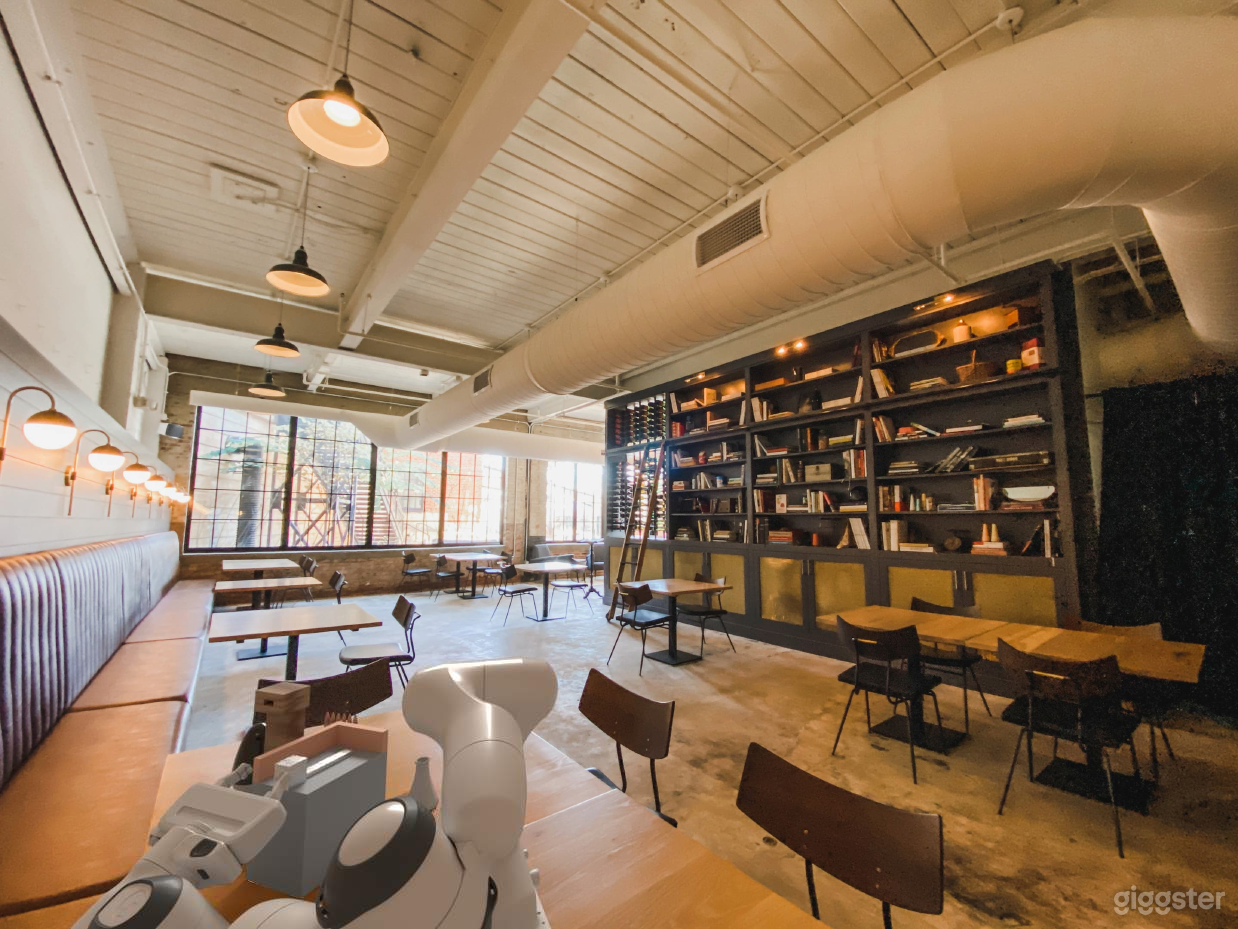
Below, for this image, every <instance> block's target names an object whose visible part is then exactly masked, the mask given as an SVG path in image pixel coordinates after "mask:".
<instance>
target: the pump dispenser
mask: <svg viewBox="0 0 1238 929" xmlns="http://www.w3.org/2000/svg"><path fill="white" fill-rule="evenodd" d="M265 731H266V721H262V722H258V723H255V724H254V725H252V726H251V727H250V728H248V730H247V731H246V733H245V735H244V736H243V738H242V740H241V742H240V743H239V746H238V748H237V752H236V755H235V758H234V760H233V763H232V764H233V765H232V768H231V772H233V771H235V770H236V769H237V768H238V767H239V766H240V765H241V764H242V763H245V764H250V765H251V767H252V768H253V765H254V758H255V757H257V756H260V755H262V754H264V745H265ZM252 779H253V771H252V772H251V773H250V774H249V775H248V777H247V778H246V779H245V780H244V779H241V780H239V781H238V782H236V783H235V784H234V785H232V786H231V787H232V789H234V790H238V791H242V792H246V793H250V794H251V793H252Z"/></svg>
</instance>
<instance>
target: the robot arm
mask: <svg viewBox="0 0 1238 929" xmlns="http://www.w3.org/2000/svg"><path fill="white" fill-rule="evenodd" d="M558 683H559V682H558V678H557V675H556V671H555V670H554V668H553V667H552V665H551V664H550V663H549V662H548V661H547V660H546V659H541V658H535V657H527V656H515V657H514V656H513V657H497V658H485V659H478V660H476V659H475V660H465V661H452V662H443V663H441V664H436V665H432V666H429V667H424V668H422V669H418V670H416V671H415V673H414V674H413V675H412V676H411V677H410V678H409V680H408V682H407V683H406V686H405V687H404V691H403V694H402V699H401V710H402V716H403V719H404V720H405V723H406V724H407V725H408V727H409V728H410V729H411V730H412V731H413V732H415V733H418V734H420V735H421V734H422V735H424V736H426V737H428V738H430V739H431V740H433V741H434V742H435V743H437V744H438V746H439V747H440V748H441V750H442V761H443V763H442V764H443V766H442V778H441V779H442V780H441V794H440V795H441V798H440V800H441V807H440V808H439V812H438V815H437V817H436V818H435V815H434V814H433V813H432V812H431V810H430V811H429V810H428V809H427V808H426V807H425V806H424V805H422V804H421V803H420V802H419V801H417V800H416V799H414V798H412V797H410V796H408V795H398V796H395V797H394V796H393V797H392V798H388V799H385V801H382V802H380V803H378V804H377V805H375V806H373V807H372V808H370V809H369V810H368V811H366V812H365V813H364V814H363V815H361V816H360V817H359V818H358V819H357V820H356V821H355V822H354V823H353V824H352V826H351V827H350V828H349V829H348V831H347V832H346V833H345V835H344V836H343V838H342V839H341V841H340V843H339V845H338V847H337V849H336V851H335V853H334V855H333V857H332V859H331V861H330V863H329V866H328V868H327V871H326V876H325V878H324V880H323V882H322V884H320V885H319V888H318V891H317V894H316V899H315V902H311V901H307V900H302V899H298V898H285V897H283V898H275V899H274V898H273V899H270V900H266V901H262V902H259V903H258V904H256V905H253V906H252V907H250V908H249V909H247V910H246V911H245V912H243V913H242V914H241V915H240V916H239V917H237V918H236V919H235V920H234V921H233V922H232V923H230V922H228V920H227V919H225V917H224V916H223V915H222V914H221V913H220V912H219V911H218V910H217V908H215V907H214V905H212V904H211V903H210V901H208V899H207V898H206V897H205V896H204V895H203V894H202V893H201V890H204V889H207V888H213V887H219V886H226V885H231V884H233V883H234V882H235V881H236V880H237V879H238V878H239V877H240V875H241V874H242V872H243V867H242V865H244V864H246V863H247V862H249V861H250V860H251V859H253V858H254V857H255V856H256V855H257V854H258V853H259V852H260V851H261V850H262V849H263V848H264V847H265V845H266V844H267V843H268V842H269V841H270V840H271V839H272V837H273V836H274V835H275V834H276V833H277V831H278V830H279V829H280V828H281V826H282V825H283V824H284V822H285V819H286V815H287V812H286V810H285V808H284V807H283V805H282V804H281V802H280V800H281V797H282V794H283V791H284V788H285V787H286V786H287V785H288V784H289V783H290V781H291V780H292V777H291V775H290V773H287V772H280V774H279V775H278V776H277V777H276V778H275V779H274V780H273V781H274V782H275V785H274V787H273V789H272V791H268V792H267V793H266V794H265V795H264V796H263V797H262V796H258V795H254V794H250V793H246V792H242V791H238V790H234V788H231V787H233V786H232V785H234V784H235V783H236V782H238V781H239V780H241V779H244V780H245V779H246V778H247V777H248V775H249V774H250V773H251V772H252V771H253V768H252V767H251V765H250V764H245V763H242V764H241V765H240V766H239V767H238V768H237V769H236V770H235V771H233V772H232V771H231V772H229V773H228V774H226V775H224V776H222V777H221V778H219V779H218V780H217V781H216V782H215V783H214V784H212V783H208V782H204V781H198V782H196V783H195V784H192V785H191V786H190V787H188V788H187V789H186V790H185V791H184V792H183V793H182V794H181V796H179V797H178V798H177V799H176V800H175V802H174V803H173V804H172V805H171V806H170V807H169V808H168V809H166V811H165V813H164V814H163V815H162V816H161V817H160V819H159V821H158V823H157V825H156V826H154V827H153V828H152V830H150V833H149V836H148V841H147V845H148V846H150V847H151V848H150V849H149V850H148V851H147V852H146V853H145V854H144V855H142V856H141V857H140V858H139V860H137V862H136V863H135V864H134V865H133V867H132V868H131V870H130V871H129V872H128V874H127V875H126V876H125V877H124V878H123V879H122V880H121V881H120V882H119V883H118V884H116V885H115V886H114V887H113V888H111V889H110V890H108V891H107V892H105V893H104V894H103V895H102V896H100V897H99V898H98V900H96V902H95V903H94V904H92V906H90V908H88V910H87V911H86V912H84V914H82V915H81V917H80V918H79V919H77V921H76V922H75V923H74V924H73V925H72V926H71V927H70V928H69V929H552V927H551V924H550V923H549V920H548V917H547V915H546V912H545V910H544V907H543V904H542V902H541V899H540V897H539V894H538V891H537V889H536V887H538V886H540V883H541V878H540V871H539V869H538V868H532V869H530V868H529V865H528V861H527V859H529V850H528V849H527V848H525V849H523V846H522V843H521V836H522V834H523V831H524V826H525V820H526V809H527V801H528V800H527V797H528V796H527V794H528V789H527V788H528V784H527V781H528V780H527V771H526V770H527V769H526V760H525V752H524V744H525V742H526V740H527V739H528V737H529V736H530V734H531V733H532V732H533V730H534V729H535V728H536V726H538V725H539V724H540V723H541V722H542V721H543V720H544V719H545V718H547V717H548V715H550V713H551V711H552V710H553V708H554V706H555V704H556V701H557V698H558V694H559V684H558ZM321 903H322V904H321Z"/></svg>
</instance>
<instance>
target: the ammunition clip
mask: <svg viewBox="0 0 1238 929" xmlns="http://www.w3.org/2000/svg"><path fill="white" fill-rule="evenodd" d="M335 716H336V717H335ZM357 716H358V715H357V714H354V716H353V718H352V714H351V713H349V714H348V715H346V713H345V712H344V713H342V716H341V714H340V712H337V715H335V712H332V713H331V715H330V713H329V711H327V712H326V713H325V717H324V724H323V728H324V727H326V726H329V725H331V724H333V723H336V722H338V721H341V722H347V723H353V724H358V723H359V722H358V717H357Z"/></svg>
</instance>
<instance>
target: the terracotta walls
mask: <svg viewBox="0 0 1238 929" xmlns="http://www.w3.org/2000/svg"><path fill="white" fill-rule="evenodd" d="M388 742H389V729H388V728H382V727H381V728H380V727H375V726H369V725H364V724H353V722H352V723H347V721H346V722H341V721H338V722H336V721H335V723H333V724H331V725H329V726H326V727H324V726H323V727H322V728H320V729H318V730H315V731H313V732H310V733H308V734H306V735H304V736H303V737H301V738H299V739H296V740H294V741H292V742H290V743H287V744H285V745H283V746H280V747H278V748H276V749H273V750H271V751H269V752H267V753H264V754H262V755H260V756H257V757H255V758H254V765H253V779H252V781H253V782H257V783H259V782H261V781H263V780H265V779H267V778H269V777H271V776H273V775H274V772H275V763H277V762H280V761H282V760H284V759H286V758H288V757H290V756H292V755H296V756H301V757H306V758H310V757H312V756H315V755H317V754H319V753H321V752H323V751H325V750H327V749H329V748H331V747H333V746H335V745H342V746H347V747H352V748H357V749H363V750H368V751H373V752H378V753H383V752H385V751H386V750H387V751H388V746H389V744H388Z"/></svg>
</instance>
